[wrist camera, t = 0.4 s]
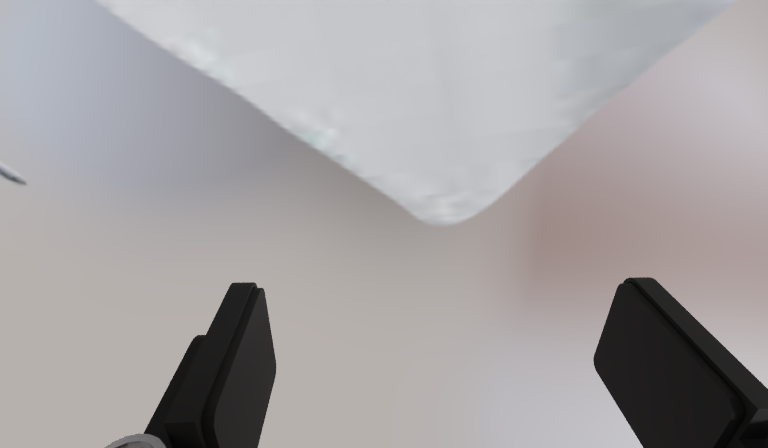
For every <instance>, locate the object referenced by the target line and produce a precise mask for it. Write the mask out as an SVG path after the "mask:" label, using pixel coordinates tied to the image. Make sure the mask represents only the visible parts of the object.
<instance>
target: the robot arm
mask: <svg viewBox="0 0 768 448" xmlns="http://www.w3.org/2000/svg"><path fill="white" fill-rule="evenodd" d="M594 366H595V369H596V371H597V373H598V374H599V376H600V378H601V379H602V381H603V382H604V384H605V386H606V387H607V389H608V391H609V392H610V394H611V395H612V397H613V399H614V400H615V402H616V404H617V405H618V407H619V408H620V410H621V412H622V413H623V415H624V416H625V418H626V420H627V421H628V423H629V425H630V426H631V428H632V430H633V431H634V433H635V435H636V436H637V438H638V439H639V441H640V443H641V444H642V446H643V448H768V389H767V388H766V387H765V386H764V385H763V384H762V383H761V382H760V381H759V380H758V379H757V378H756V377H755V376H754V375H753V374H751V372H750V371H749V370H748V369H746V368H745V367H744V366H743V365H742V364H741V363H740V362H739V361H738V360H737V359H736V358H735V357H734V356H733V355H732V354H731V353H730V352H729V351H728V350H727V349H726V348H725V347H724V346H723V345H722V344H721V343H720V342H719V341H718V340H717V339H716V338H715V337H714V336H713V335H712V334H710V333H709V332H708V331H707V330H706V329H705V328H704V327H703V326H702V325H701V324H700V323H699V322H698V321H697V320H696V319H695V318H694V317H693V316H692V315H691V314H690V313H689V312H688V311H687V310H686V309H685V308H684V307H683V306H682V305H681V304H680V303H679V302H678V301H677V300H676V299H675V298H673V297H672V296H671V295H670V294H669V293H668V292H667V291H666V290H665V289H664V288H663V287H662V286H661V285H660V284H659V283H658V282H657V281H656V280H654V279H653V278H628V279H626V280H625V281H624V283H622V284H620V285H619V286H618V288H617V290H616V293H615V296H614V299H613V302H612V305H611V308H610V311H609V314H608V317H607V320H606V323H605V326H604V329H603V332H602V334H601V337H600V340H599V344H598V346H597V349H596V352H595V355H594ZM275 374H276V360H275V354H274V348H273V341H272V335H271V330H270V323H269V317H268V311H267V304H266V298H265V292H264V289H263V288H257V285H256V283H232V284H231V285H230V287H229V289H228V291H227V293H226V295H225V297H224V299H223V302H222V303H221V306H220V308H219V310H218V312H217V314H216V316H215V318H214V320H213V322H212V324H211V326H210V328H209V330H208V332H207V334H206V335H198V336H196V337H195V338H194V339H193V341H192V342H191V344H190V346H189V348H188V349H187V351H186V353H185V355H184V357H183V359H182V361H181V363H180V365H179V367H178V369H177V371H176V372H175V374H174V376H173V378H172V380H171V382H170V384H169V386H168V388H167V390H166V392H165V394H164V396H163V397H162V399H161V401H160V403H159V405H158V407H157V409H156V411H155V413H154V415H153V417H152V418H151V420H150V423H149V424H148V426H147V428H146V430H145V432H144V434H135V435H131V436H126V437H124V438H122V439H119V440H117V441H115V442H112V443H111V444H110V445H108V446H106V447H105V448H257V447H258V443H259V439H260V435H261V431H262V427H263V423H264V419H265V415H266V411H267V407H268V403H269V399H270V395H271V391H272V387H273V383H274V379H275Z"/></svg>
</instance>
